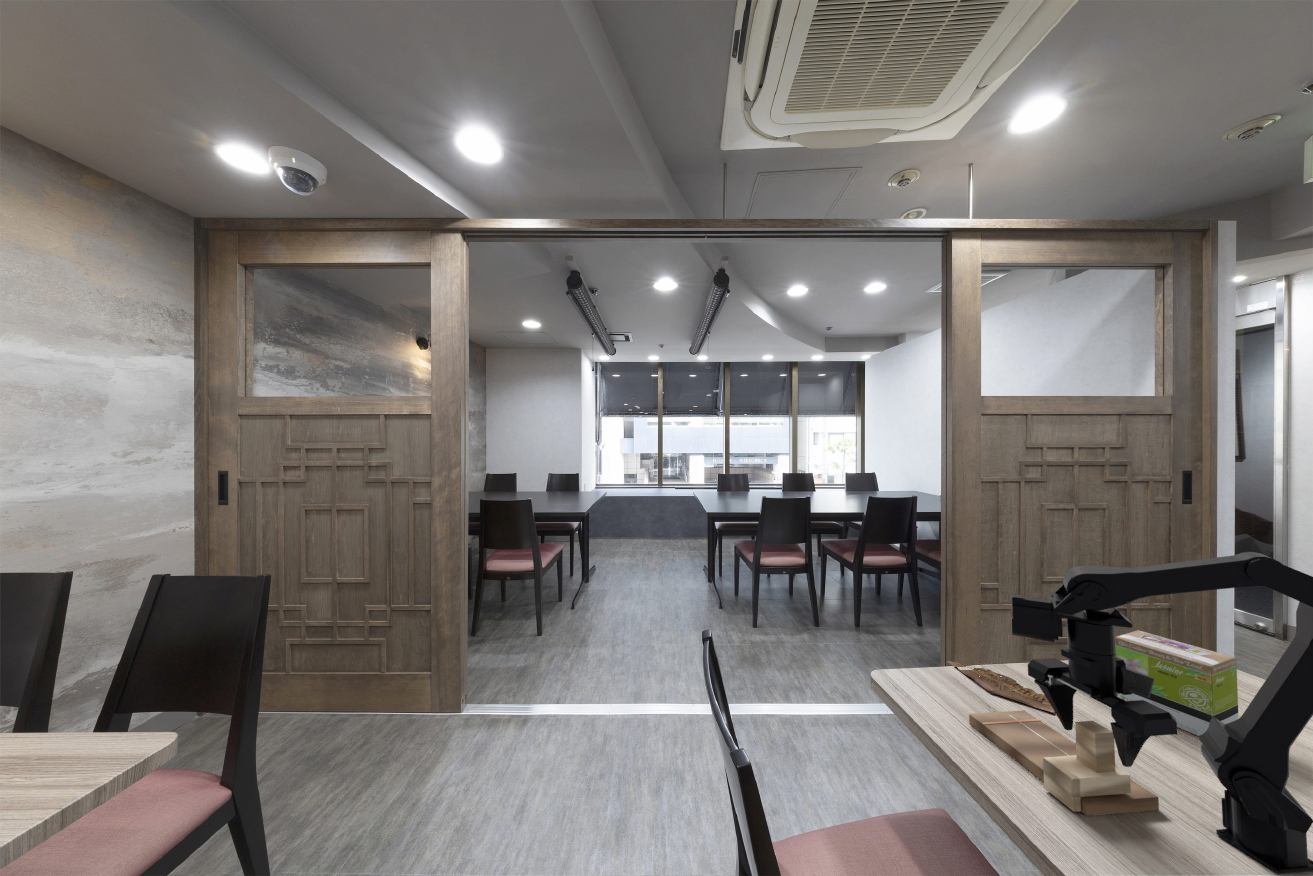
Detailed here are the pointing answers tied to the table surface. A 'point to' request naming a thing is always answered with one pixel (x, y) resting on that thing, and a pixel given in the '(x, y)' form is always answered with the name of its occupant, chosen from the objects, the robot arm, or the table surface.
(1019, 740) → the walnut board
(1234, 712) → the tea box
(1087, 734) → the block
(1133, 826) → the table surface
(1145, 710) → the robot arm
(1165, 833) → the table surface
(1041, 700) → the wooden fragment
